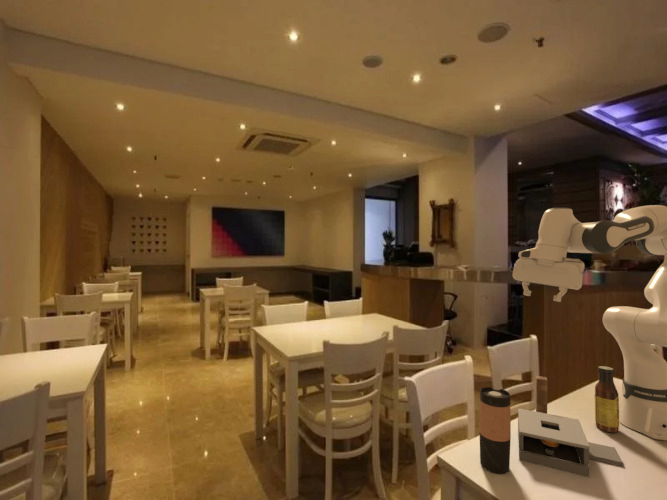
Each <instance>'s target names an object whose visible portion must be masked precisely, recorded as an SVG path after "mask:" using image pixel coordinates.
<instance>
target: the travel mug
mask: <svg viewBox="0 0 667 500" xmlns="http://www.w3.org/2000/svg"><path fill="white" fill-rule="evenodd" d="M511 425H512V424H511V394H510V392H509V391H507V390H505V389H504V388H503V389H502V388H500V389H495V388H492V387H491V386H485V387H482V388H480V390H479V429H478V431H479V457H480V458H479V459H480V462H479V463H480V465H481V466H482V468H483V469H484V470H486V471H487V472H489V471H490V473H493V474H495V473H496V474H497V475H505V474H508V472H509V471H510V462H511V461H510V460H511V436H512V435H511Z"/></svg>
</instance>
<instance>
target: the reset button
mask: <svg viewBox="0 0 667 500" xmlns="http://www.w3.org/2000/svg"><path fill="white" fill-rule="evenodd" d="M540 441H541V443H542V444H543V445H546V446H547V447H553V448H558V447H559V446H560V444H559V443H557V442H552V441H548V440H543V439H541V440H540Z"/></svg>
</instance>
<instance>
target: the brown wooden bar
mask: <svg viewBox="0 0 667 500" xmlns="http://www.w3.org/2000/svg"><path fill="white" fill-rule="evenodd" d="M535 384H536V385H535V412H541V413H546V414H548V378H547V376H543V375H542V376H540V375H536V376H535Z"/></svg>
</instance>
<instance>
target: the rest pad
mask: <svg viewBox="0 0 667 500" xmlns="http://www.w3.org/2000/svg"><path fill="white" fill-rule="evenodd" d="M588 444H589V446H590V450H589V460H593V461H599V462H603V463H607V464H612V465H617V466H620V467H623V460H622V458H621V456H620V455H619V453H618V451H617V449H616V447H614V446H609V445H605V444H600V443H594V442H590V441H588Z"/></svg>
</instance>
